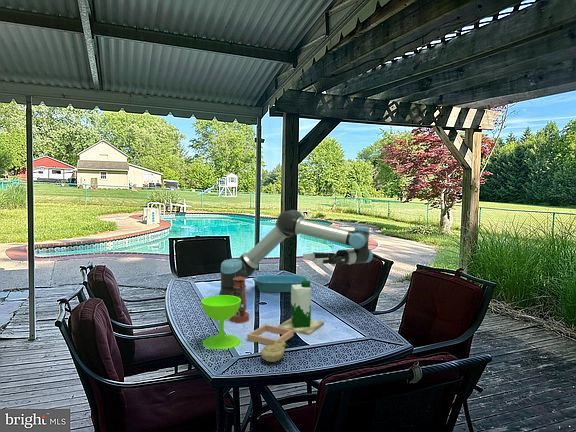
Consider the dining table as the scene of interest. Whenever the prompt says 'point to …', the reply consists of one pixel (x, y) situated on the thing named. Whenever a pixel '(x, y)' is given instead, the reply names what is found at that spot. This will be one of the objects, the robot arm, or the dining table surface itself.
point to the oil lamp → (273, 351)
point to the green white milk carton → (301, 304)
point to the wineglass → (221, 319)
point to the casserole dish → (278, 282)
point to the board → (303, 330)
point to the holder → (268, 341)
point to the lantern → (241, 314)
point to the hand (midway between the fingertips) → (309, 259)
